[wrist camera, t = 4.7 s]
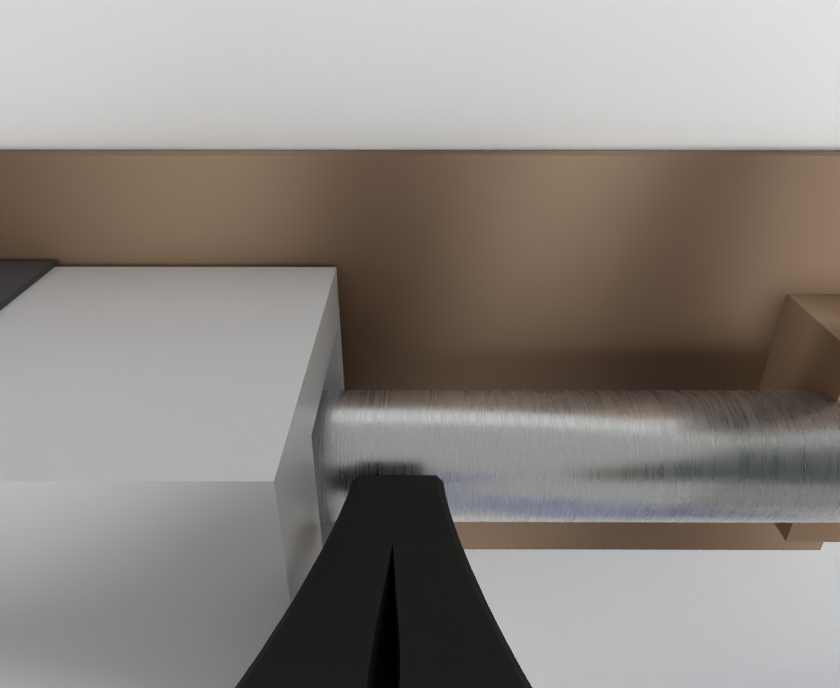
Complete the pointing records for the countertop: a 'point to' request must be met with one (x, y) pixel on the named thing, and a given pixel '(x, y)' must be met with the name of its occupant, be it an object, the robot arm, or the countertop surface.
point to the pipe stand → (496, 272)
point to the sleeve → (158, 469)
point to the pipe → (590, 453)
